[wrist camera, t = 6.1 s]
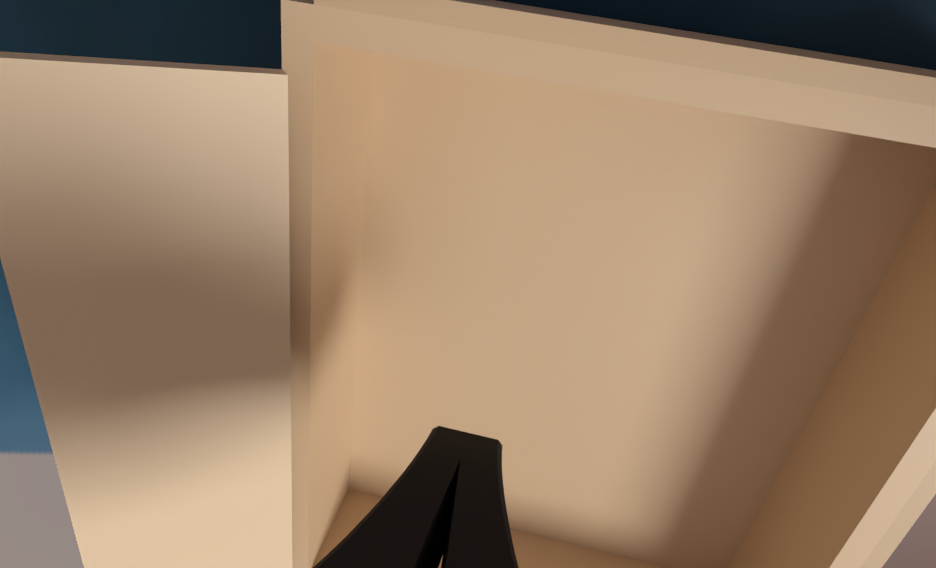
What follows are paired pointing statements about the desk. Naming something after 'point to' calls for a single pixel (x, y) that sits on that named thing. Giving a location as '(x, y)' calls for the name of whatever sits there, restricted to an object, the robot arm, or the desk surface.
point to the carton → (611, 281)
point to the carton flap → (155, 300)
